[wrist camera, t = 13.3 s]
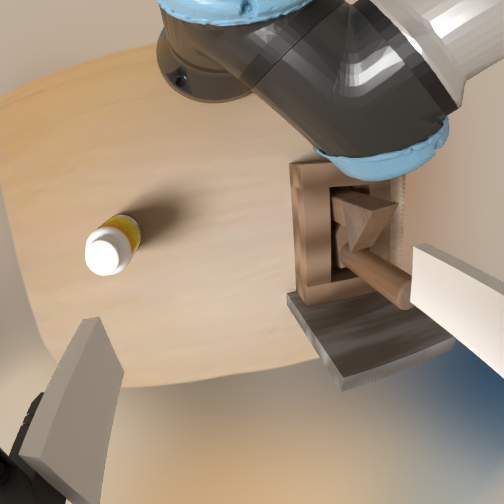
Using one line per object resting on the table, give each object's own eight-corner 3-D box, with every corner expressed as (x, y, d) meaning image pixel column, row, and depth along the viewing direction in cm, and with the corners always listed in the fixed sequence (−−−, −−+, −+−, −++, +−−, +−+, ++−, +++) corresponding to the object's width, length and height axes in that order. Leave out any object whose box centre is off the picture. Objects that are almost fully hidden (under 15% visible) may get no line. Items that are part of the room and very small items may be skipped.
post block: (278, 164, 39) (350, 173, 21) (378, 160, 42) (479, 172, 23) (287, 305, 46) (341, 391, 27) (376, 286, 48) (452, 348, 30)
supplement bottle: (112, 207, 37) (87, 223, 27) (148, 224, 39) (134, 246, 29) (98, 243, 38) (72, 269, 28) (133, 260, 40) (116, 291, 30)
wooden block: (340, 186, 42) (421, 209, 25) (350, 254, 46) (423, 304, 29) (317, 192, 42) (392, 218, 25) (330, 261, 45) (397, 317, 28)
